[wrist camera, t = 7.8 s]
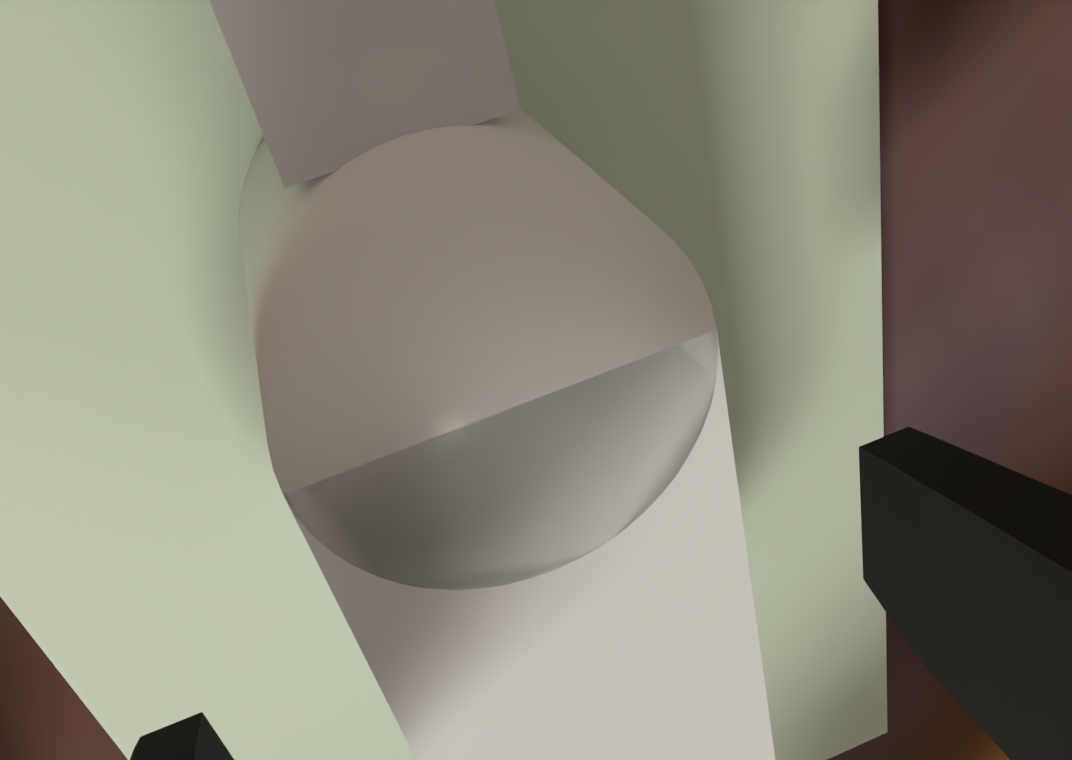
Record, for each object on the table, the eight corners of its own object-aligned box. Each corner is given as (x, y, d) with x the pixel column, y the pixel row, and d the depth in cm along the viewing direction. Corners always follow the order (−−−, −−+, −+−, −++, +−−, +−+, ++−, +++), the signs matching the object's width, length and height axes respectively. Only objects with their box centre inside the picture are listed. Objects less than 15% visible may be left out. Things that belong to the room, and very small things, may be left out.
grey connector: (665, 662, 16) (792, 884, 12) (462, 749, 15) (539, 1004, 12) (461, -243, 9) (632, -279, 5) (65, -134, 8) (-19, -99, 5)
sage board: (858, 694, 20) (887, 732, 19) (305, 940, 18) (311, 993, 17) (803, -658, 9) (869, -707, 8) (-646, -347, 7) (-756, -369, 6)
